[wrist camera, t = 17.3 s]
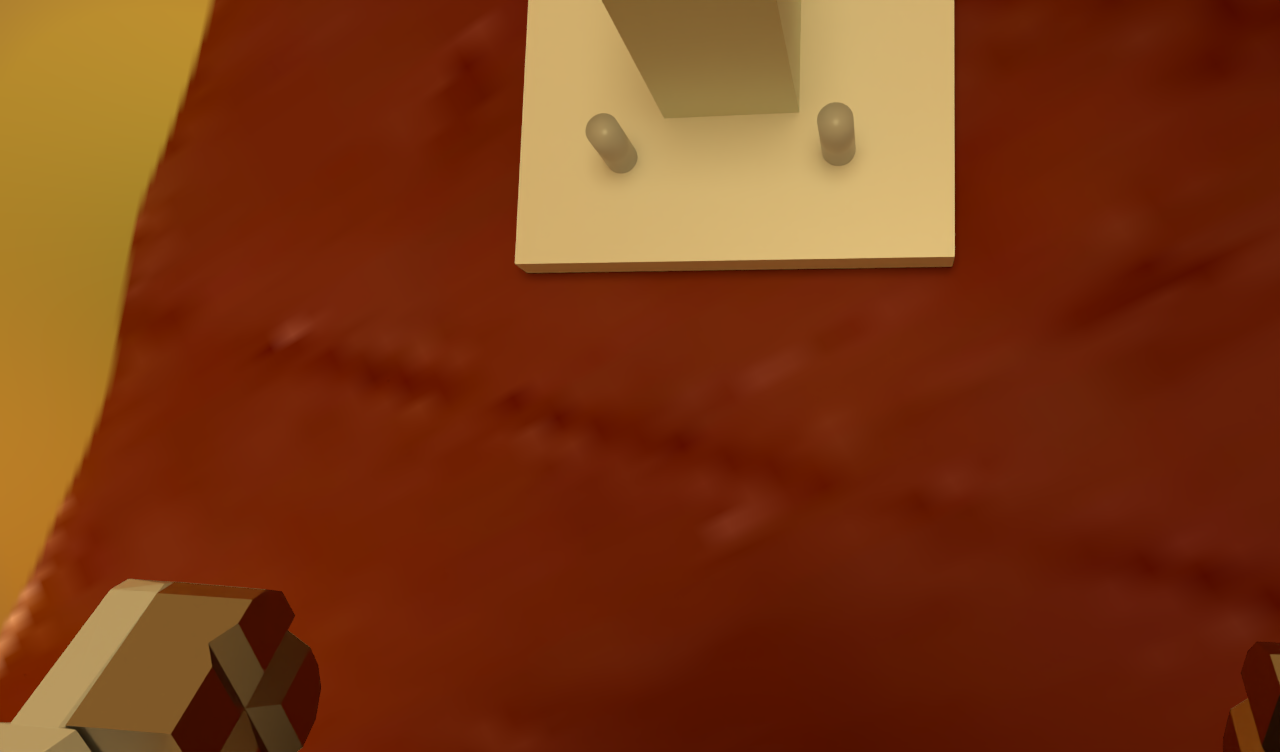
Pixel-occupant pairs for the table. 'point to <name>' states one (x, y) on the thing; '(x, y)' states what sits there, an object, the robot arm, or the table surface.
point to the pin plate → (741, 151)
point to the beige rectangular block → (714, 54)
